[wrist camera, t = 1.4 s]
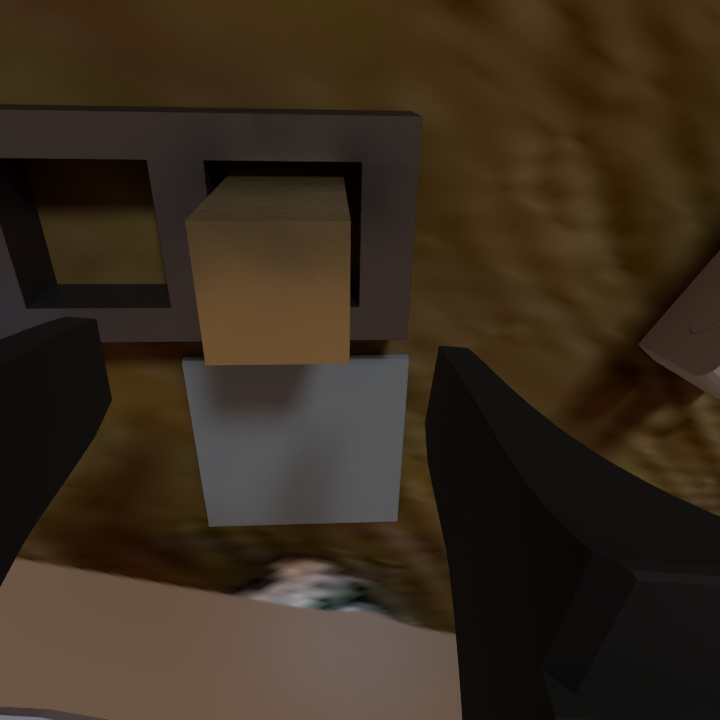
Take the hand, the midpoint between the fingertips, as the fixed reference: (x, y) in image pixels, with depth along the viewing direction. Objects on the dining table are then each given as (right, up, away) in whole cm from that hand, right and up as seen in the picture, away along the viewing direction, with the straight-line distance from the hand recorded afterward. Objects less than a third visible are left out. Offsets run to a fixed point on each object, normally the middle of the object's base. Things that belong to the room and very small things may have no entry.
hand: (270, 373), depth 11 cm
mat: (-1, -4, +15) cm, 15 cm away
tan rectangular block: (-1, +6, +9) cm, 11 cm away
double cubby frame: (-4, +6, +9) cm, 12 cm away
